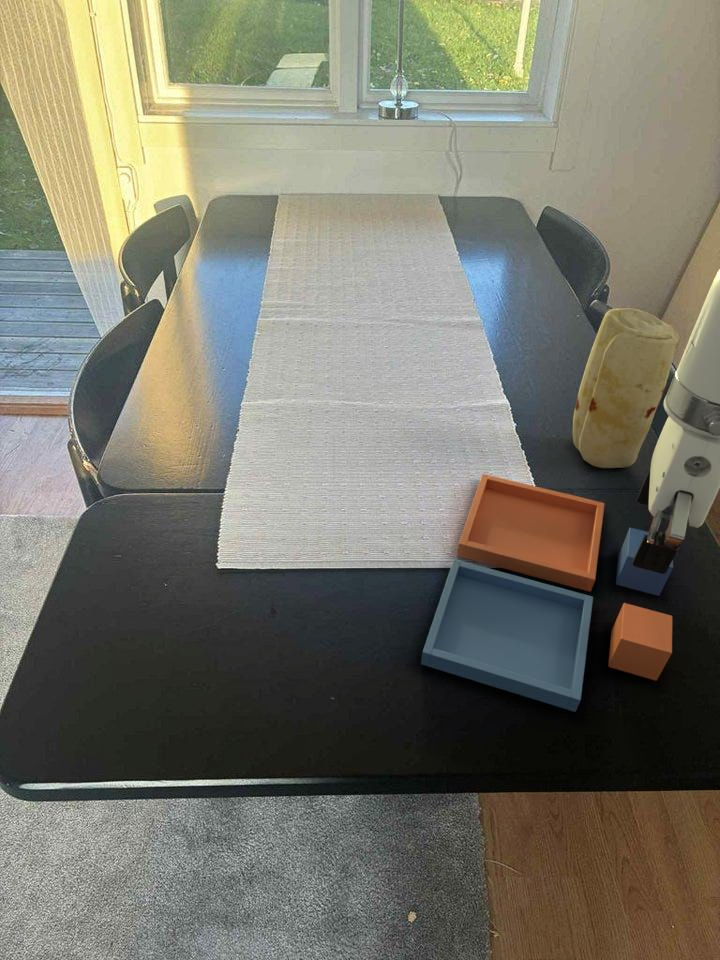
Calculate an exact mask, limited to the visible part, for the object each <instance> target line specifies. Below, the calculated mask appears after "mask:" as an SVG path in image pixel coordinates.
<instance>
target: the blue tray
mask: <svg viewBox="0 0 720 960" xmlns="http://www.w3.org/2000/svg"><path fill="white" fill-rule="evenodd" d="M593 602H594V596H591V595H587V594H584V593H580V592H576V591H573V590H569V589H565V588H562V587H559V586H555V585H551V584H547V583H544V582H540V581H536V580H533V579H529V578H525V577H523V576H518V575H515V574H511V573H507V572H504V571H499V570H496V569H492V568H488V567H486V566H481V565H477V564H475V563H470V562H466V561H464V560H460V559H455V558H454V559H453V560H452V563H451V566H450V568H449V572H448V575H447V578H446V581H445V584H444V587H443V590H442V593H441V596H440V599H439V603H438V605H437V608H436V611H435V613H434V617H433V620H432V623H431V625H430V628H429V632H428V634H427V637H426V640H425V644H424V647H423V650H422V653H421V660H420V665H423V666H426V667H428V668H432V669H435V670H439V671H443V672H445V673H448V674H451V675H455V676H458V677H461V678H464V679H467V680H470V681H473V682H476V683H481V684H483V685H487V686H489V687H493V688H496V689H499V690H503V691H505V692H506V691H507V692H509V693H512V694H516V695H519V696H521V697H525V698H528V699H530V700H531V699H532V700H534V701H538V702H542V703H544V704H548V705H551V706H554V707H558V708H561V709H564V710H567V711H571V712H574V713H576V711H577V710H578V708H579V705H580V703H581V699H582V692H583V683H584V675H585V666H586V660H587V651H588V643H589V636H590V635H589V634H590V626H591V618H592V611H593V610H592V609H593Z"/></svg>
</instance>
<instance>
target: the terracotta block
mask: <svg viewBox="0 0 720 960" xmlns="http://www.w3.org/2000/svg"><path fill="white" fill-rule="evenodd" d="M609 644H610V645H609V653H608V655H609V656H608V665H607V666H608V668H612V669H615V670H619V671H621V672H625V673H627V674H628V673H629V674H632V675H635V676H638V677H641V678H646V679H649V680H653V681H658V680H659V678H660V675H661V674H662V672H663V670H664V668H665V667H666V665H667V663H668V661H669V660H670V658H671V655H672V654H673V616H672V615H670V614H667V613H663V612H659V611H656V610H651V609H648V608H644V607H640V606H638V605H633V604H630V603H626V602H623V604H622V606H621V608H620V610H619V613H618V615H617V618H616V620H615V622H614V624H613V627H612V629H611V633H610V643H609Z"/></svg>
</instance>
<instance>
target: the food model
mask: <svg viewBox="0 0 720 960" xmlns="http://www.w3.org/2000/svg"><path fill="white" fill-rule="evenodd" d="M680 340H681V338H680V335H679V333H678V331H677V330H676V329H675V328H674V327H673V326H672V325H670V324H668V323H667V322H664V321H662V320H661V319H659V318H658V317H657V316H655V315H653V314H651V313H649V312H646V311H645V310H644V311H643V310H640V309H637V308H610V309H609V310H608V311H606V313H605V314H604V316H603V318H602V320H601V323H600V326H599V329H598V331H597V333H596V337H595V339H594V342H593V345H592V347H591V350H590V352H589V353H590V354H589V356H588V359H587V363H586V366H585V369H584V372H583V376H582V379H581V382H580V385H579V389H578V393H577V397H576V403H575V407H574V412H573V418H572V419H573V421H572V443H573V445H574V447H575V448H576V449H577V450H578V451H579V453H580V455H581V457H582V459H583V461H585V462H587V463H588V464H589V465H591V466H592V467H595V468H599V469H600V468H601V469H617V468H619V469H620V468H621V469H622V468H623V469H624V468H628V467H630V466H632V465H633V464H634V463H635V462H636V461H637V460H638V457H639V453H640V450H641V448H642V445H643V443H644V441H645V439H646V437H647V435H648V433H649V431H650V428H651V425H652V423H653V420H654V417H655V414H656V411H657V409H658V406H659V404H660V402H661V399H662V397H663V395H664V391H665V388H666V387H667V382H668V379H669V376H670V371H671V368H672V363H673V359H674V356H675V354H676V350H677V348H678V346H679V343H680Z"/></svg>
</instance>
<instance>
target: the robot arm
mask: <svg viewBox="0 0 720 960" xmlns="http://www.w3.org/2000/svg"><path fill="white" fill-rule="evenodd" d="M718 269H719V270H718V271H717V272H716V275H715V276H714V279H713V281H712V283H711V285H710V288H709V290H708V292H707V295H706V296H705V300H704V302H703V304H702V307H701V310H700V312H699V315H698V317H697V319H696V322H695V324H694V326H693V329H692V332H691V333H690V336H689V339H688V341H687V344H686V347H685V349H684V351H683V354H682V357H681V359H680V361H679V364H678V366H677V368H676V370H675V373H674V375H673V378H672V380H671V382H670V384H669V387H668V390H667V393H666V395H665V397H664V399H663V408H664V411H665V412H666V414H667V419H666V421H665V423H664V425H663V427H662V430H661V432H660V434H659V437H658V440H657V442H656V445H655V448H654V450H653V454H652V457H651V462H650V471H648V472H647V474H646V475H645V478H644V481H643V483H642V485H641V487H640V490H639V493H638V494H637V499H636V501H637V503H638V504H641V505H644V506H648V511H649V513H650V515H651V516H652V519H651V524H650V527H649V530H648V532H649V534H648V535H644V537H643V539H642V541H641V543H640V546H639V548H638V550H637V552H636V554H635V556H634V559H633V566H635V567H639V568H642V569H646V570H650V571H653V572H657V573H661V574H664V573H666V572H667V570H668V568H669V566H670V564H671V562H672V560H673V561H674V559H675V557H676V555H677V553H678V551H679V550H680V548H681V546H682V543H683V542H684V540H685V538H686V537H685V536H686V531H687V527H688V526H689V527H693V528H694V529H698V528H701V527H702V526H703V524H704V523H705V521H706V519H707V517H708V514H709V512H710V510H711V508H712V506H713V504H714V501H715V499H716V497H717V495H718V493H719V490H720V268H718ZM669 507H671V512H670V513H668V512H664V510H666V509H669ZM662 520H666V521H669V523H668V527H667V529H665V532H661V531H659V528H660V525H661V521H662Z"/></svg>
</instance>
